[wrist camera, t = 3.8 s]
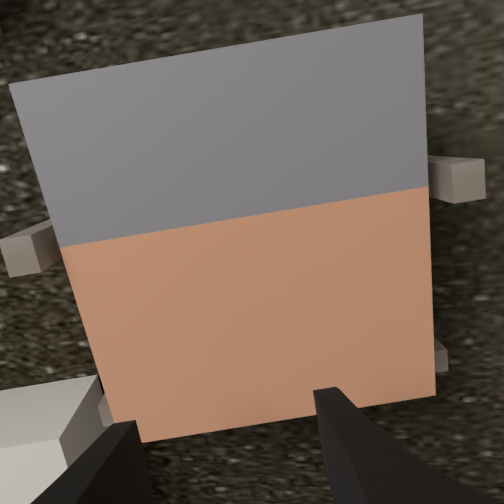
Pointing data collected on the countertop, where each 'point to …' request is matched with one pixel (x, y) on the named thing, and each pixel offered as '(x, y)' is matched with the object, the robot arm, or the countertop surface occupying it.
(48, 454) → the off-white sharp-edged cube
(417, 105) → the trapdoor
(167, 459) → the countertop surface
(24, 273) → the frame
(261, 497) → the countertop surface
